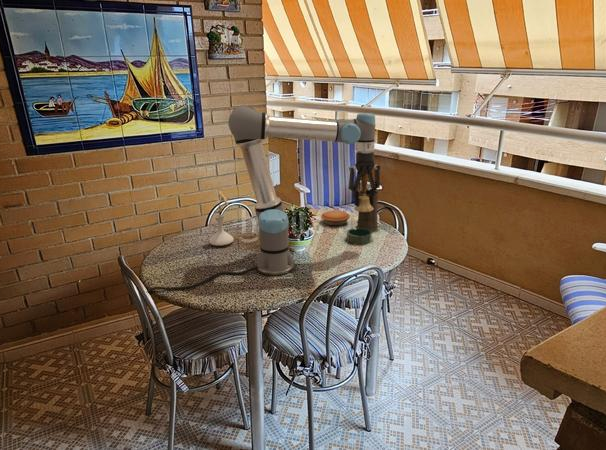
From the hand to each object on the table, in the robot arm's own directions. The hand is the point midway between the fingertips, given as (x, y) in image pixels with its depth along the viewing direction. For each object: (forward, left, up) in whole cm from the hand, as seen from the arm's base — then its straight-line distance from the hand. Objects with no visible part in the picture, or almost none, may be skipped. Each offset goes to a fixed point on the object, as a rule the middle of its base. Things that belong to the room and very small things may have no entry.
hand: (363, 204), depth 178 cm
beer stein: (+14, +26, -21) cm, 36 cm away
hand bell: (0, 0, -2) cm, 2 cm away
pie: (+2, +39, -18) cm, 43 cm away
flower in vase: (-60, +29, -21) cm, 70 cm away
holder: (+3, +11, -21) cm, 24 cm away
